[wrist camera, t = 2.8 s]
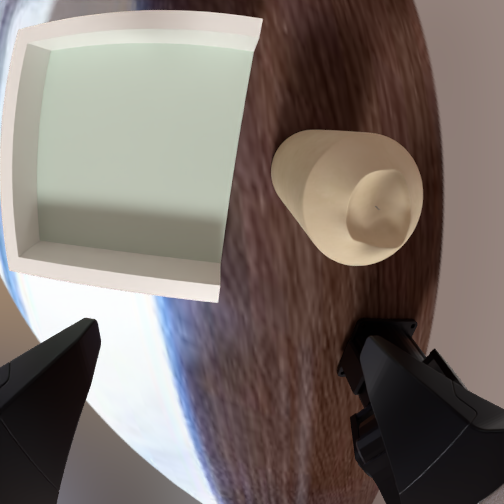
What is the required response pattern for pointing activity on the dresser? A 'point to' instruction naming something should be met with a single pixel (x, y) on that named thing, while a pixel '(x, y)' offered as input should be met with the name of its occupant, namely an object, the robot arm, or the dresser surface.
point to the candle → (349, 192)
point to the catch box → (124, 148)
